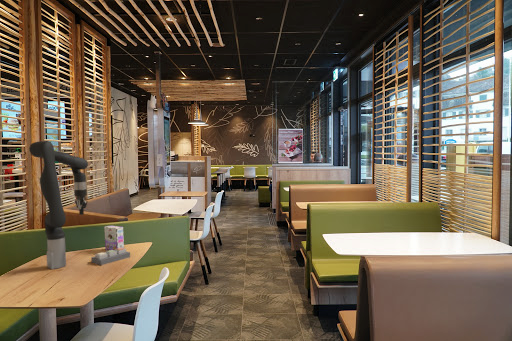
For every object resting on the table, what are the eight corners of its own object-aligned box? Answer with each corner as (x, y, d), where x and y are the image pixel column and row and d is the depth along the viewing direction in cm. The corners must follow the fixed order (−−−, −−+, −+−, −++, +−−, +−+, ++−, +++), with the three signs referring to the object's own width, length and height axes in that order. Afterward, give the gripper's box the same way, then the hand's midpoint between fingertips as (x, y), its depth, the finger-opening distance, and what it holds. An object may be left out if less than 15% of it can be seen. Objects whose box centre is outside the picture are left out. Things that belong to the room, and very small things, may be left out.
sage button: (110, 255, 222) (109, 252, 221) (106, 254, 224) (106, 251, 224) (115, 254, 224) (115, 250, 224) (112, 253, 227) (112, 249, 226)
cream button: (100, 258, 216) (100, 254, 216) (97, 257, 218) (96, 253, 218) (105, 256, 219) (105, 253, 219) (102, 256, 221) (102, 252, 221)
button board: (101, 265, 213) (100, 257, 213) (91, 262, 219) (91, 254, 219) (130, 256, 229) (130, 249, 229) (120, 254, 236) (120, 246, 235)
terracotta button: (119, 253, 227) (119, 249, 227) (116, 252, 229) (116, 248, 229) (124, 251, 230) (124, 248, 230) (121, 251, 232) (121, 247, 232)
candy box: (124, 250, 246) (123, 226, 245) (117, 252, 241) (116, 228, 240) (112, 247, 253) (111, 225, 252) (104, 249, 248) (103, 226, 247)
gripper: (69, 188, 236) (71, 214, 237) (79, 189, 228) (81, 216, 229) (81, 187, 242) (82, 212, 243) (91, 188, 234) (92, 214, 235)
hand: (81, 214), depth 236 cm, fingers closed
